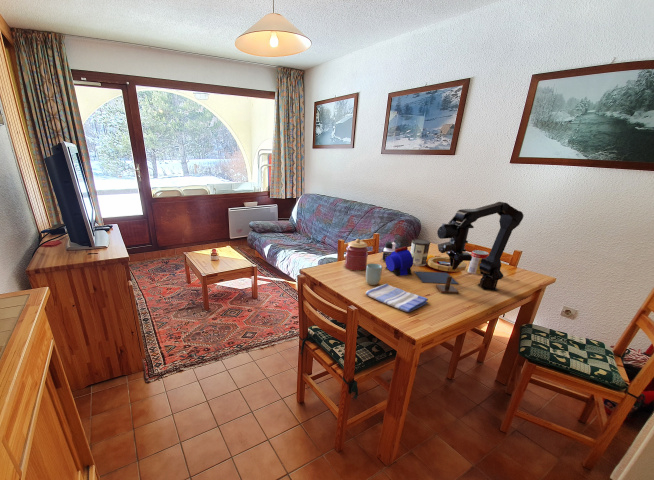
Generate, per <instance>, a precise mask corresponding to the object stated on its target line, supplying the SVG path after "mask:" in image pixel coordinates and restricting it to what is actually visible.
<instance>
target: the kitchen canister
mask: <svg viewBox="0 0 654 480" xmlns="http://www.w3.org/2000/svg"><path fill="white" fill-rule="evenodd" d="M345 249H346V252H345V260H344V267H345V268H346V269H348V270H351V271H364V270H366V267H367V264H368V258H369V257H368V256H369V253H368V251H369V247H368V243H366V241H363V240H361V239H360V238H356V240H352V241H350V242H348V243H347V246H346V247H345Z"/></svg>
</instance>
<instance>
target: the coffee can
mask: <svg viewBox="0 0 654 480" xmlns="http://www.w3.org/2000/svg"><path fill="white" fill-rule="evenodd" d="M430 246H431V241H430V240H427V239H419V238H417V239H416V238H415V239H412V240H411V246H410V250H409V251H410V253H411V255H412V257H413V265H412V266H418V267H423V266H426V265H427V261H428V255H429V250H430ZM426 260H427V261H426Z"/></svg>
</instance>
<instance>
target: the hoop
mask: <svg viewBox="0 0 654 480" xmlns="http://www.w3.org/2000/svg"><path fill="white" fill-rule="evenodd" d="M437 262H438V263H437ZM439 262H441V263H449V264H450V258H449V256H448V257H447V256H432V257H430V258H429V259H427V262H426V265H428V266H429V267H430V268H433V269H436V270H439V271H444V272H451V273H452V272H454V273H458V272H463V271H465V270H466V268H467V262H465V261H462V262H461V264H460V265H459V266H458V267H457V268H456V269H455V270H453V269H452V266H450V265H444V264H439Z"/></svg>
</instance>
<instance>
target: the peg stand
mask: <svg viewBox="0 0 654 480" xmlns="http://www.w3.org/2000/svg"><path fill="white" fill-rule="evenodd" d="M452 278H453V276H452V275H450V276H448V277H447V281H446V284H435V288H436V290H438V291H439V292H440V294H448V295H459V290H458V289H457V288H456V287H455V286H454V285H453V284H451V280H452Z"/></svg>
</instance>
